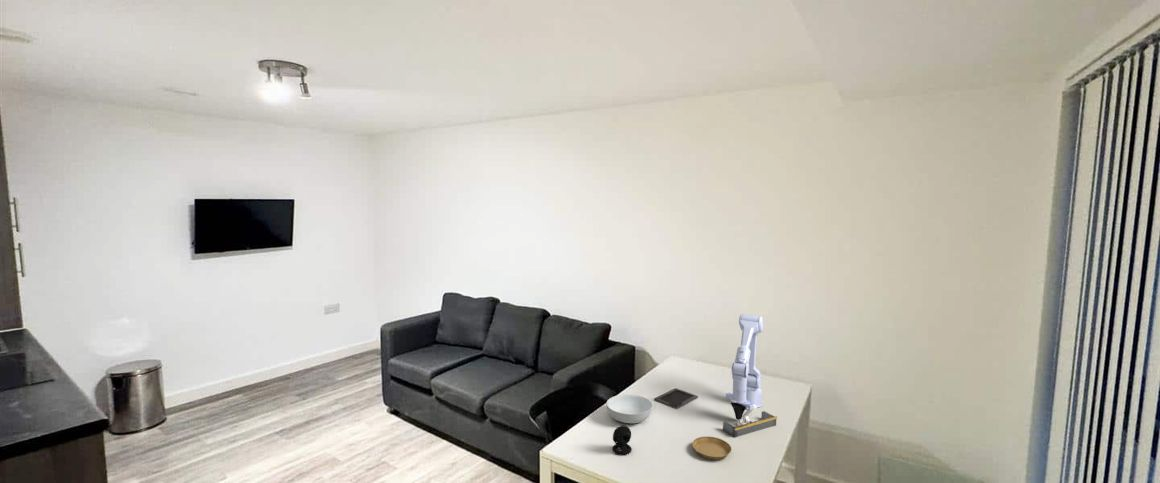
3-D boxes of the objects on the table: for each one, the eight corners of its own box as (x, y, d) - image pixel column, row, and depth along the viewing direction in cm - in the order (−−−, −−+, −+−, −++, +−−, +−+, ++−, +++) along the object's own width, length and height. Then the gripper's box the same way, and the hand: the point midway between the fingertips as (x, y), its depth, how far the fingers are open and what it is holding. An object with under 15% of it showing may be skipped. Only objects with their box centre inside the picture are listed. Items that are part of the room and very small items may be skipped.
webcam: (617, 457, 176) (617, 432, 176) (608, 448, 183) (608, 423, 182) (635, 453, 179) (635, 428, 179) (626, 443, 186) (626, 420, 185)
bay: (763, 418, 208) (764, 410, 207) (776, 425, 201) (777, 416, 201) (722, 430, 197) (723, 421, 197) (735, 438, 191) (735, 428, 190)
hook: (770, 419, 196) (758, 411, 195) (751, 438, 199) (739, 431, 197) (762, 407, 203) (751, 400, 202) (744, 426, 206) (733, 419, 204)
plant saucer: (725, 467, 170) (725, 460, 170) (686, 455, 178) (686, 449, 178) (735, 449, 183) (735, 442, 182) (698, 438, 191) (699, 432, 190)
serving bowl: (658, 412, 214) (658, 398, 213) (644, 433, 195) (644, 417, 194) (615, 404, 222) (615, 390, 222) (599, 423, 203) (599, 408, 203)
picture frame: (676, 410, 217) (697, 398, 229) (676, 406, 217) (697, 395, 229) (654, 401, 227) (675, 390, 239) (654, 397, 226) (675, 387, 239)
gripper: (721, 384, 209) (720, 413, 210) (745, 397, 196) (744, 428, 197) (732, 382, 212) (731, 410, 213) (757, 394, 199) (756, 424, 200)
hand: (738, 418), depth 205 cm, fingers closed
